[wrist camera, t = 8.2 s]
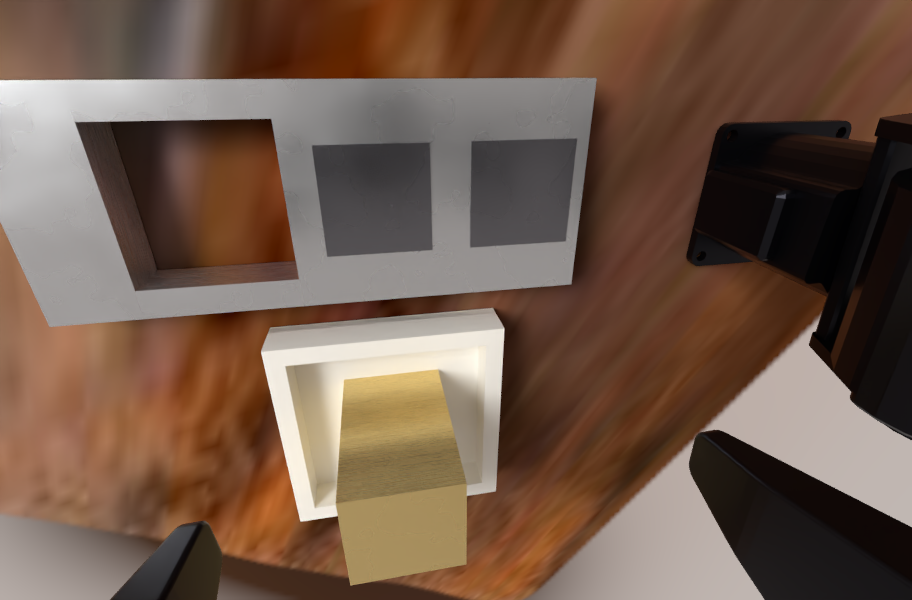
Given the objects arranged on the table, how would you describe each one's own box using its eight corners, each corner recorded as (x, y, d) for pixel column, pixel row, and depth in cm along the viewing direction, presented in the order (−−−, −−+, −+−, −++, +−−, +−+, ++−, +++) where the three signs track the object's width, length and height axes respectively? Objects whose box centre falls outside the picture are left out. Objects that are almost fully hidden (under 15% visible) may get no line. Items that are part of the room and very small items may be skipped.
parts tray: (493, 308, 22) (504, 328, 20) (487, 463, 26) (495, 491, 24) (270, 327, 20) (261, 351, 18) (305, 489, 24) (300, 521, 23)
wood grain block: (438, 369, 22) (466, 483, 16) (440, 438, 24) (466, 564, 18) (344, 379, 21) (335, 503, 15) (354, 450, 23) (350, 585, 17)
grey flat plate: (573, 77, 18) (597, 77, 16) (554, 267, 21) (571, 284, 19) (-14, 79, 14) (-68, 80, 13) (80, 302, 18) (48, 327, 16)
